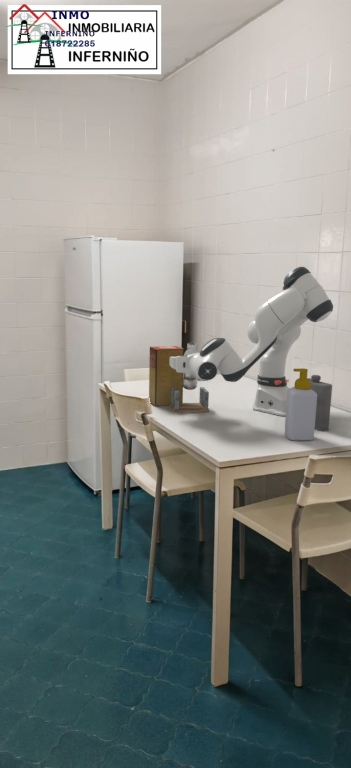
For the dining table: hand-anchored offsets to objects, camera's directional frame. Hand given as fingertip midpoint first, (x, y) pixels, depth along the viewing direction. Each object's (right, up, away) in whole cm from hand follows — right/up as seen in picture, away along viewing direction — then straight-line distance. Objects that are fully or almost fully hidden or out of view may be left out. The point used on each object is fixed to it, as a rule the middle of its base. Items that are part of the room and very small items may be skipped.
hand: (190, 358), depth 239 cm
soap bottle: (+38, -30, -33) cm, 59 cm away
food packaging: (-11, -19, +13) cm, 26 cm away
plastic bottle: (0, -13, +4) cm, 13 cm away
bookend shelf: (0, -21, +4) cm, 22 cm away
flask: (+47, -27, -17) cm, 57 cm away
